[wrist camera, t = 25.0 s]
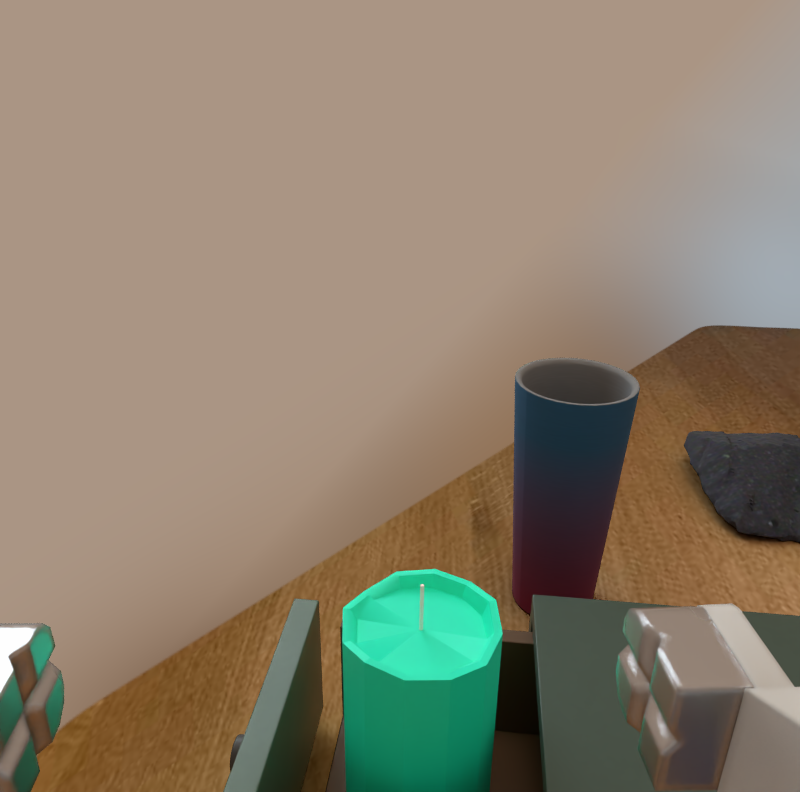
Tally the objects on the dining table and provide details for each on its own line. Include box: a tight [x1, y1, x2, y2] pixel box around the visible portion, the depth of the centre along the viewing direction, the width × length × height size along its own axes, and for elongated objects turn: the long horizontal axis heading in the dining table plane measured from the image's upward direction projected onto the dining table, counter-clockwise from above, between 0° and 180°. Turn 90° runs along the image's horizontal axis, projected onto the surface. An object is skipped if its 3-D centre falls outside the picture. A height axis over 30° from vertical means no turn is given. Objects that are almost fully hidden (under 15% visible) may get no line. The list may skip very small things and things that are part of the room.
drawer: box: [223, 599, 543, 792], centre depth 31 cm, size 16×12×7 cm
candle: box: [342, 569, 503, 792], centre depth 30 cm, size 6×6×12 cm
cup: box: [512, 358, 640, 614], centre depth 45 cm, size 7×7×15 cm
